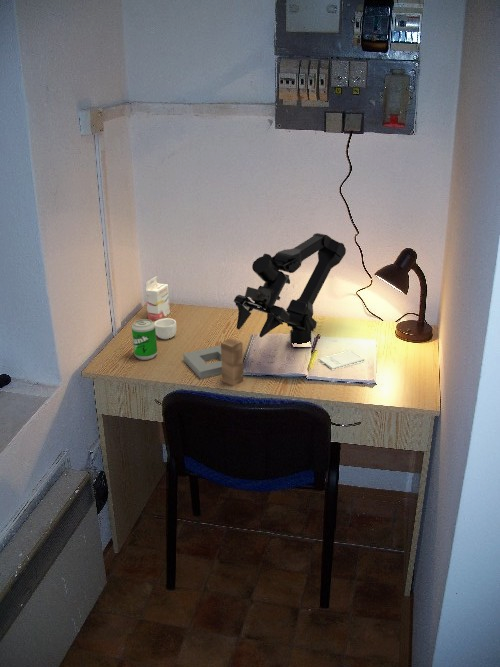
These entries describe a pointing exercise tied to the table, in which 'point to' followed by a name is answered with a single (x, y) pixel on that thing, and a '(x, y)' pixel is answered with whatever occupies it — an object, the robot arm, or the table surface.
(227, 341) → the walnut pillar
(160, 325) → the teacup
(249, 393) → the table surface
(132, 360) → the table surface
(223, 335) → the table surface
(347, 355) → the external hard drive
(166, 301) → the milk carton
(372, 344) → the table surface
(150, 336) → the soda can
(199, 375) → the socket base
